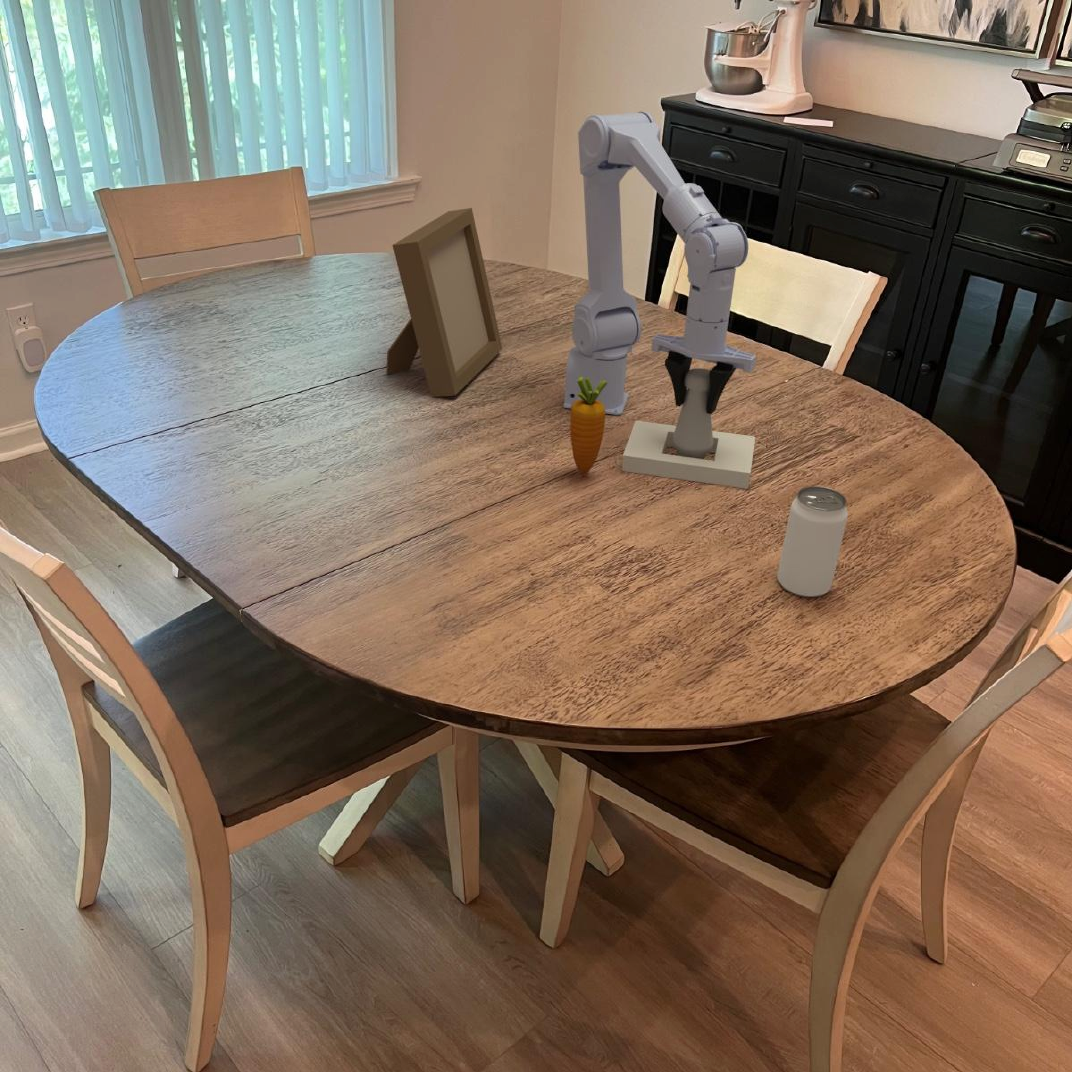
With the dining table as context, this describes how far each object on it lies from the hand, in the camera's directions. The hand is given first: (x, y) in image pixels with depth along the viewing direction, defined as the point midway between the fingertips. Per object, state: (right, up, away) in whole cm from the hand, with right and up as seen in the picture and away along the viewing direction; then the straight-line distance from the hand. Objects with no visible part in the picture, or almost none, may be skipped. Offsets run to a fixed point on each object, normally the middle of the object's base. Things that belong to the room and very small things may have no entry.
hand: (695, 407), depth 147 cm
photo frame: (-39, +10, +30) cm, 50 cm away
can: (+10, -24, -22) cm, 34 cm away
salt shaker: (0, -7, +4) cm, 8 cm away
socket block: (0, -7, +5) cm, 9 cm away
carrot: (-16, -10, 0) cm, 19 cm away
